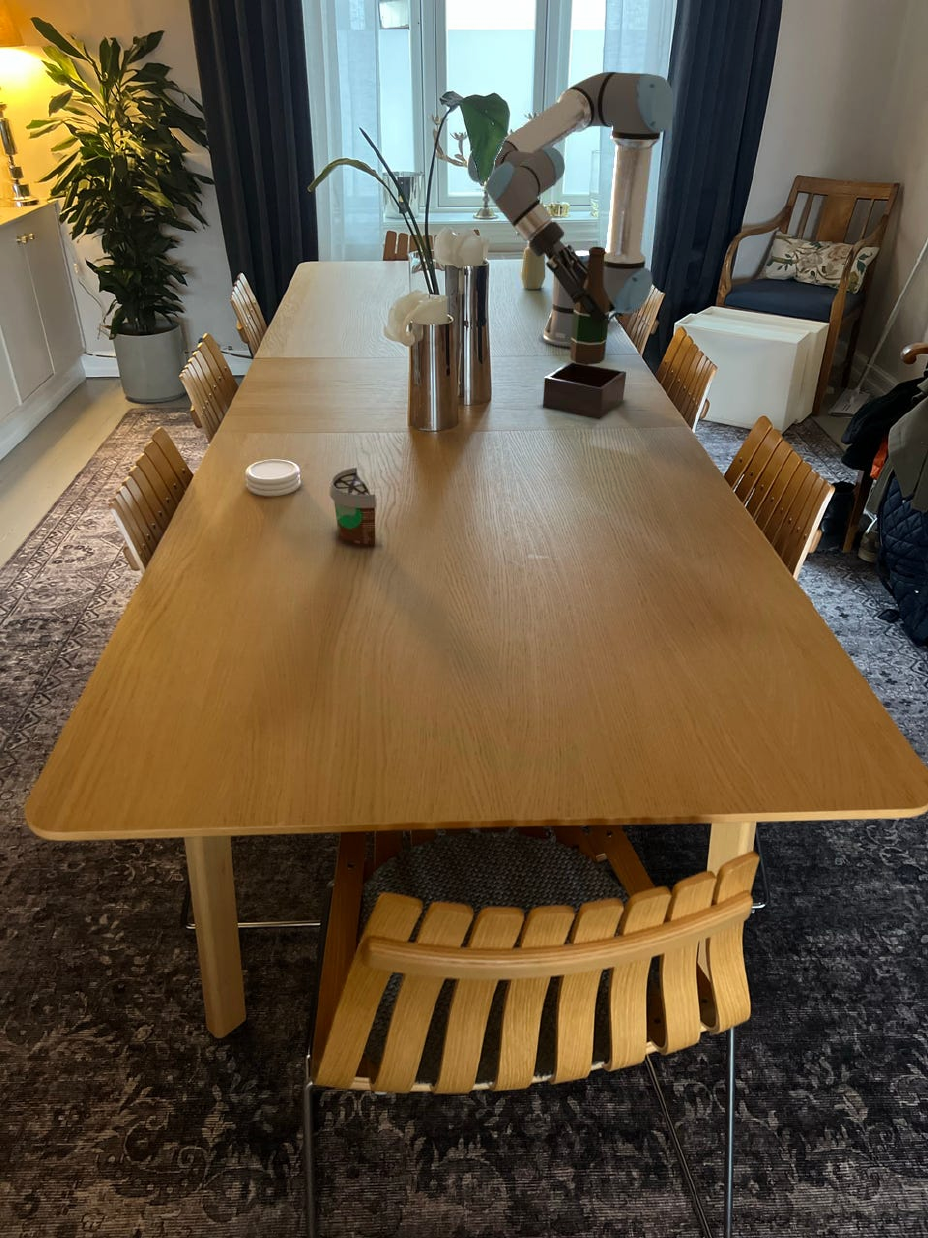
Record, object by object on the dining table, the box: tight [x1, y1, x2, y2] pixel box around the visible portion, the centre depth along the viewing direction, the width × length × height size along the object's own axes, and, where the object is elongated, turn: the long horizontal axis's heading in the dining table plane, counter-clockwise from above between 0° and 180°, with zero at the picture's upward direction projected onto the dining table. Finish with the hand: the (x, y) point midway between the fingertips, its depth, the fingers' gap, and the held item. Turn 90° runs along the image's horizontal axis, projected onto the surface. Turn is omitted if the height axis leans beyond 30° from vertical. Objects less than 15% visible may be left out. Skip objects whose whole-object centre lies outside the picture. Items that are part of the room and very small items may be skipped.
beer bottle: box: [569, 246, 610, 365], centre depth 209 cm, size 8×8×24 cm
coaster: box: [244, 459, 301, 498], centre depth 179 cm, size 10×10×4 cm
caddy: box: [542, 361, 627, 420], centre depth 219 cm, size 14×14×7 cm
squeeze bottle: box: [520, 241, 546, 290], centre depth 308 cm, size 8×8×18 cm
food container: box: [328, 467, 377, 548], centre depth 161 cm, size 12×6×10 cm, turn 21°
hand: (606, 316), depth 209 cm, fingers closed on beer bottle, 7 cm apart
